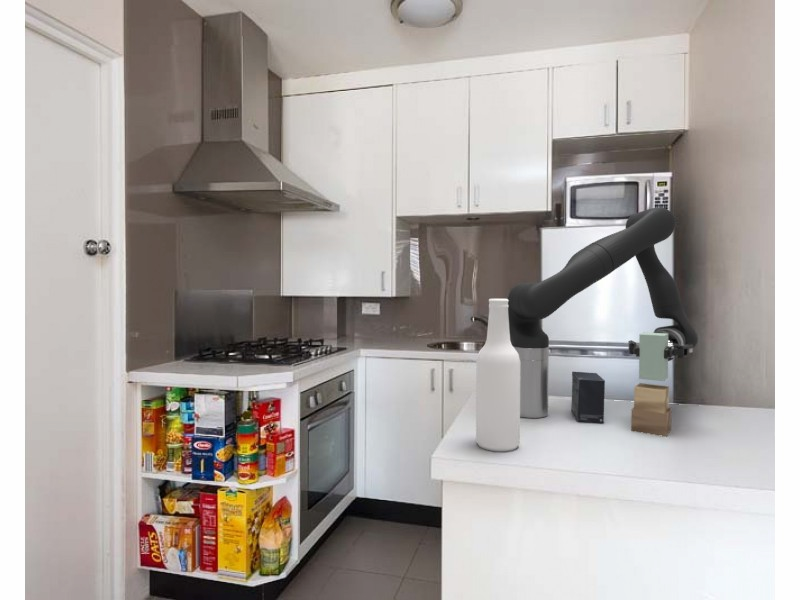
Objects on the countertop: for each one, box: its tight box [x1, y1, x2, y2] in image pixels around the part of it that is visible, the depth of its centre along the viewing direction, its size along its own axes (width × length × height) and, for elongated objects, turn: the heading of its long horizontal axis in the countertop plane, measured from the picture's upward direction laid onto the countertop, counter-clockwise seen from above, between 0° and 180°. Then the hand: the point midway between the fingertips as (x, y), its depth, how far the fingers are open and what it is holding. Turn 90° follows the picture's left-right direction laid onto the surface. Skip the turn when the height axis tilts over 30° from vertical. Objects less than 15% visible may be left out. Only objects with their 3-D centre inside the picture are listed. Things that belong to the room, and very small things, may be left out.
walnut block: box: [630, 406, 672, 437], centre depth 109 cm, size 7×7×5 cm
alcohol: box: [475, 298, 521, 453], centre depth 99 cm, size 9×9×30 cm
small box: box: [570, 371, 606, 424], centre depth 120 cm, size 11×6×10 cm, turn 168°
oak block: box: [633, 382, 670, 414], centre depth 109 cm, size 6×6×5 cm
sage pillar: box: [638, 331, 669, 382], centre depth 109 cm, size 5×5×10 cm
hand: (651, 352), depth 107 cm, fingers closed on sage pillar, 5 cm apart
